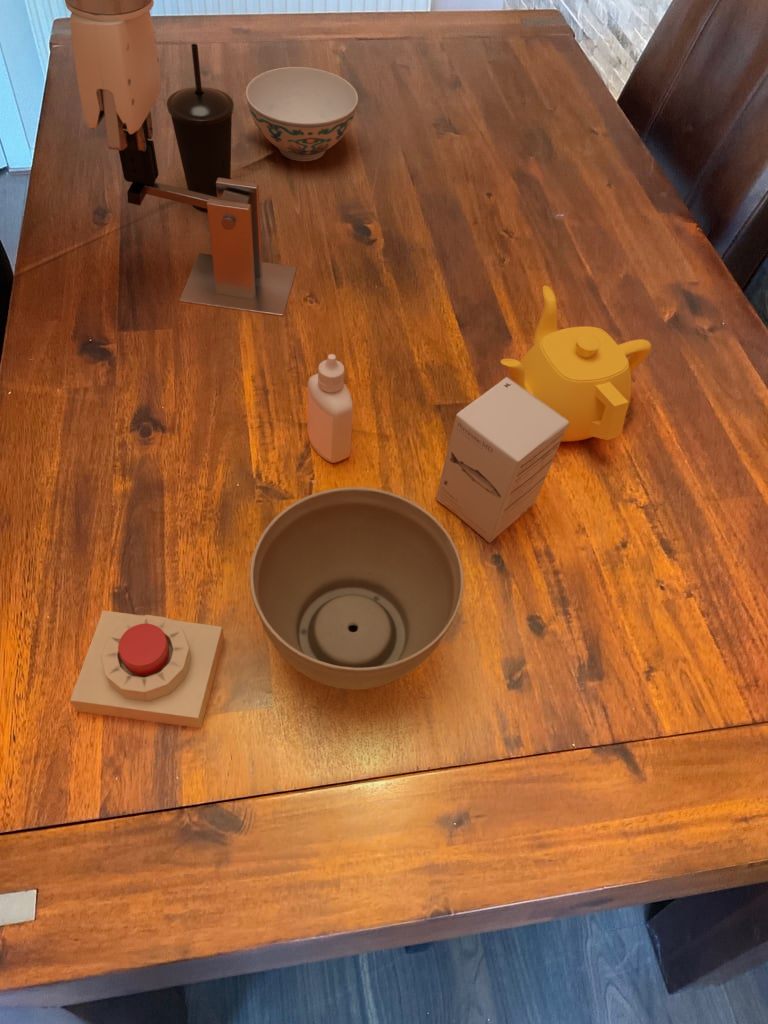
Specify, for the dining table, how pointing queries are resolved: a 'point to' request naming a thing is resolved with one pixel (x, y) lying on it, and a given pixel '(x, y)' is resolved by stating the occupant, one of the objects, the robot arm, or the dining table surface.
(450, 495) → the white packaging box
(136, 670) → the button
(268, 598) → the planter bowl
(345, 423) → the eye dropper bottle
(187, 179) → the drinking cup
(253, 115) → the chinaware
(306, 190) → the dining table surface
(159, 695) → the button block
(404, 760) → the dining table surface
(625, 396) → the teapot
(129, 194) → the lever
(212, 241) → the lever stand
